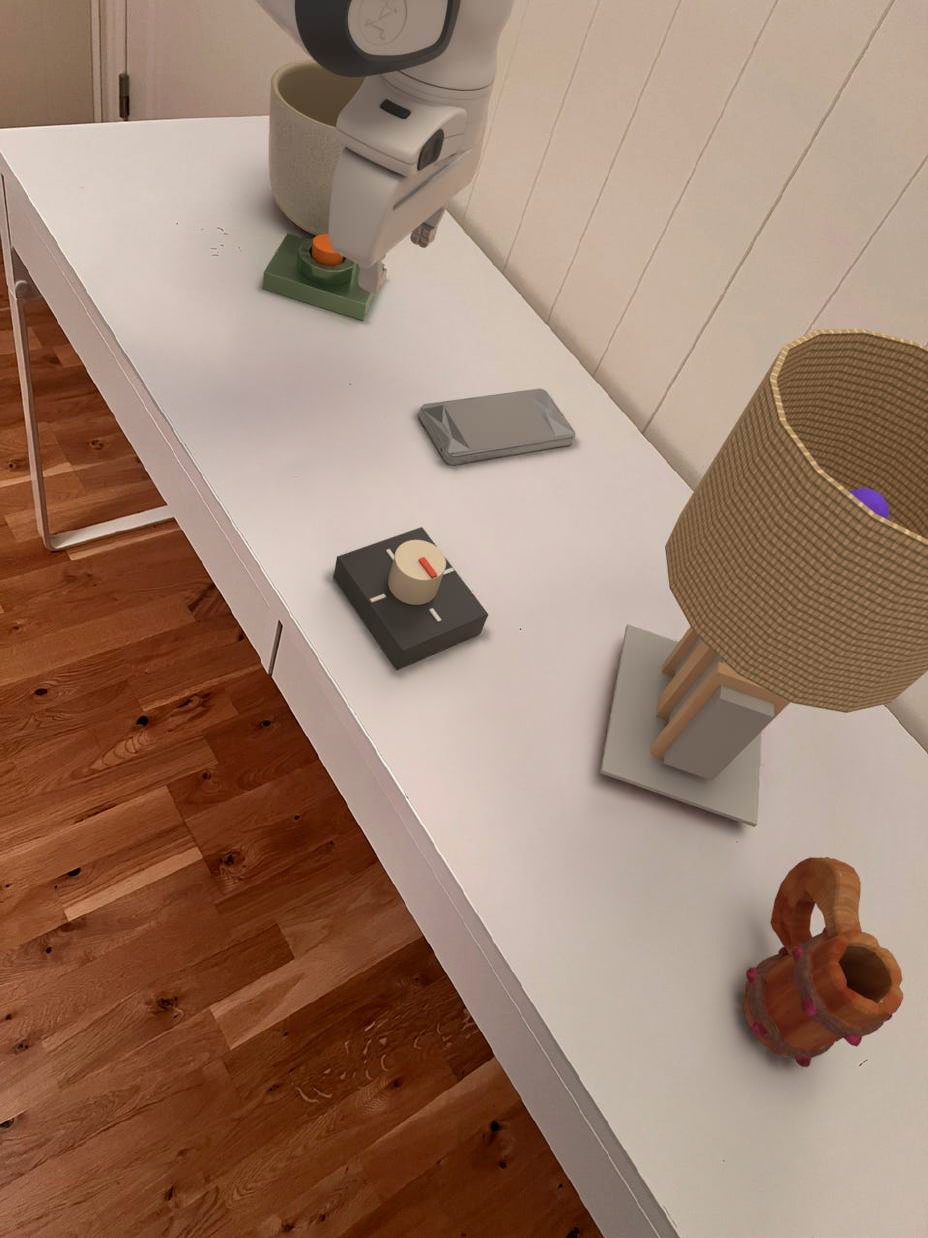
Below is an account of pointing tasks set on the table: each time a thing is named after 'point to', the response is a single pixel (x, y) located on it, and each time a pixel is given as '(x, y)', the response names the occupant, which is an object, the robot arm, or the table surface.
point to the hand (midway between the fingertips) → (396, 263)
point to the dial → (416, 572)
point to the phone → (495, 426)
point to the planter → (306, 139)
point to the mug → (820, 968)
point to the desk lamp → (787, 573)
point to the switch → (325, 251)
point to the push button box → (316, 279)
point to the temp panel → (400, 624)
